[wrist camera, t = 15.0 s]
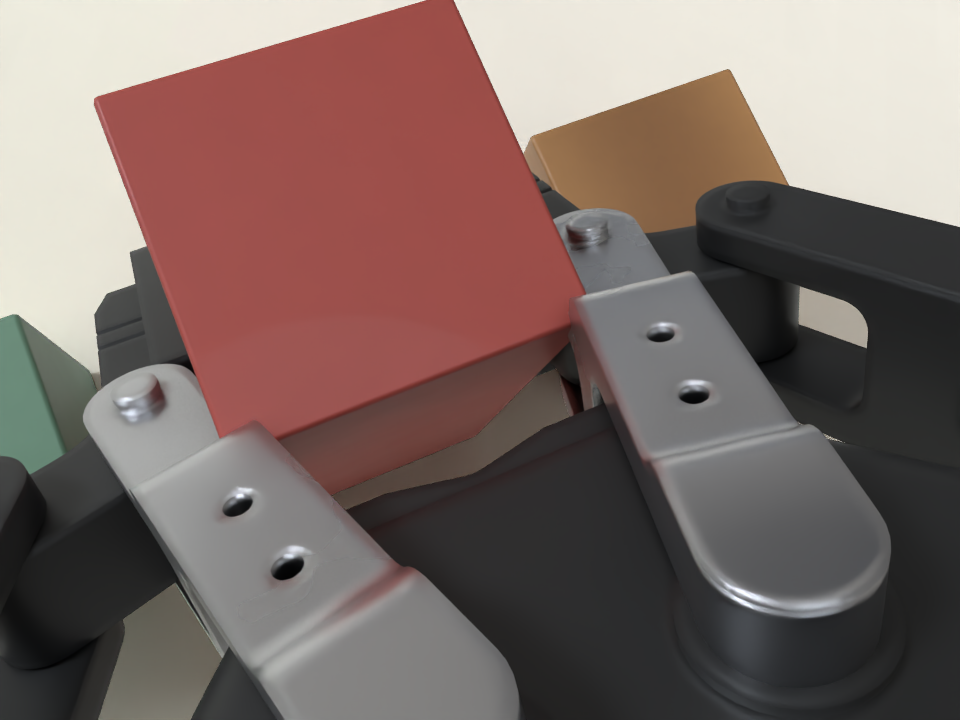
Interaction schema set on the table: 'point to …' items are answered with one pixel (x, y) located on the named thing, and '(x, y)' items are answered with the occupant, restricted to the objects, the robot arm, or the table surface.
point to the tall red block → (347, 239)
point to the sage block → (39, 396)
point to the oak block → (657, 153)
